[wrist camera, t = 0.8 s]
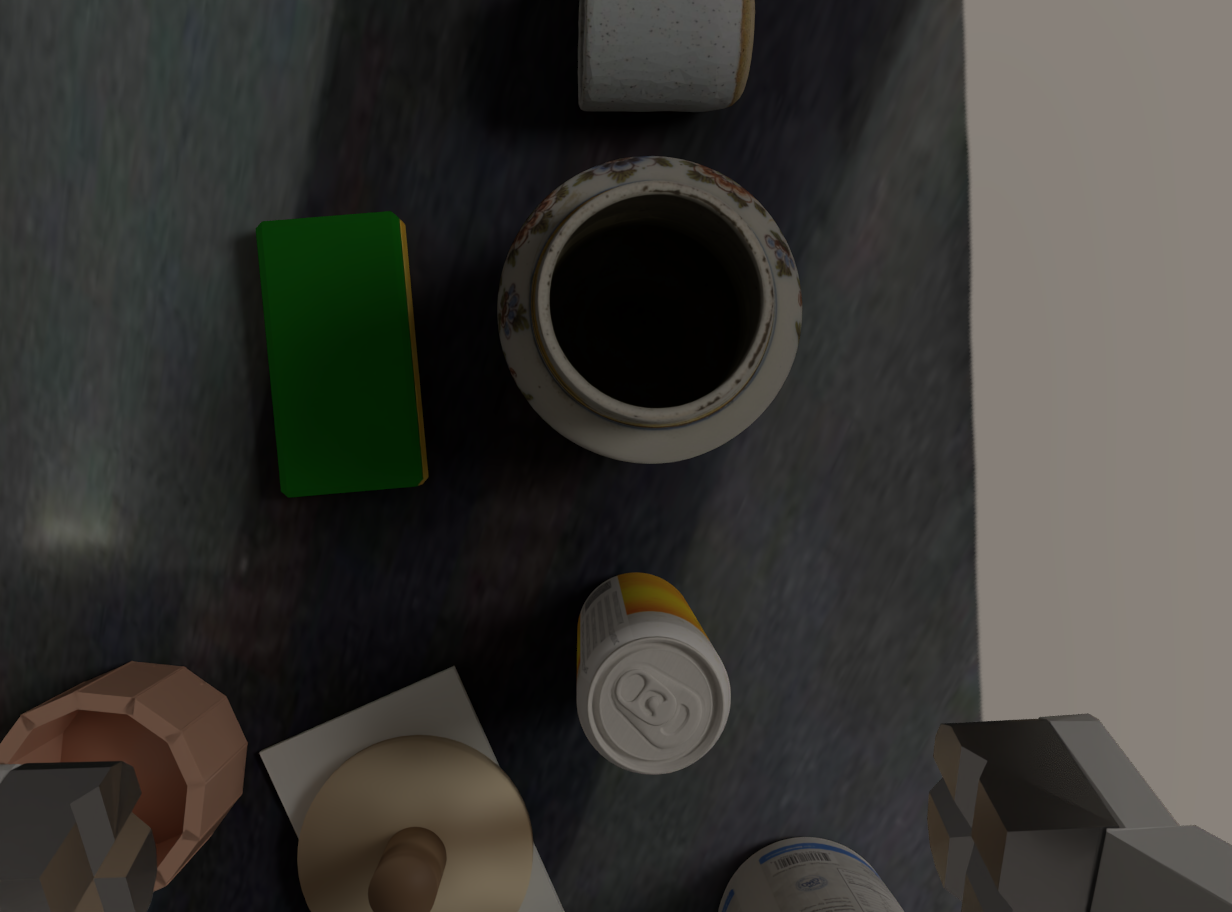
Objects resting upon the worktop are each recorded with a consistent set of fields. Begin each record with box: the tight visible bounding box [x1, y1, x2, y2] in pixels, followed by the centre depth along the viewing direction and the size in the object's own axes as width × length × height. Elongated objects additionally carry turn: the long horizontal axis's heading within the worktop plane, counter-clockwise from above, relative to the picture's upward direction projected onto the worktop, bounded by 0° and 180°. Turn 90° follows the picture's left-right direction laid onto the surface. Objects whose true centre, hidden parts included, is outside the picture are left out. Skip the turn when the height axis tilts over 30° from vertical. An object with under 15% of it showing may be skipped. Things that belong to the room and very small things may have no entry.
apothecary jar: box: [497, 156, 802, 464], centre depth 44 cm, size 12×12×18 cm
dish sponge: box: [256, 211, 428, 498], centre depth 52 cm, size 7×14×2 cm, turn 5°
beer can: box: [577, 573, 731, 775], centre depth 46 cm, size 6×6×15 cm
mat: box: [259, 666, 564, 912], centre depth 54 cm, size 16×11×1 cm
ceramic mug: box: [578, 0, 755, 112], centre depth 49 cm, size 11×8×8 cm
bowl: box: [0, 661, 248, 891], centre depth 50 cm, size 10×10×6 cm
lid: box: [297, 735, 534, 912], centre depth 51 cm, size 12×12×5 cm
